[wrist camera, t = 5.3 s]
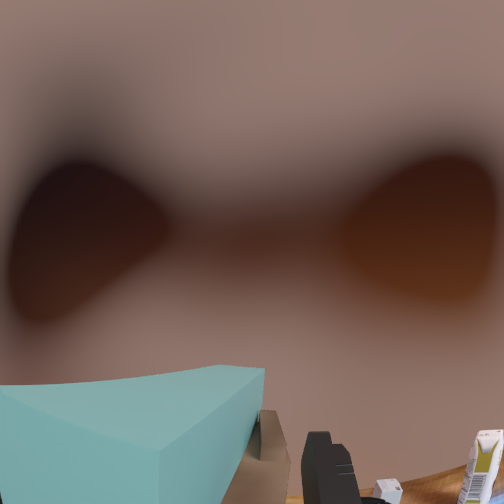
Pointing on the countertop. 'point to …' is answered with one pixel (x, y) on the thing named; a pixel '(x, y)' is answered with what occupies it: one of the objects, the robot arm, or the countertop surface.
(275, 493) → the walnut stand
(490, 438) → the juice carton
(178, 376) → the teal bar
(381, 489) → the skincare box
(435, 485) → the countertop surface
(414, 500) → the countertop surface
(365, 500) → the travel mug
